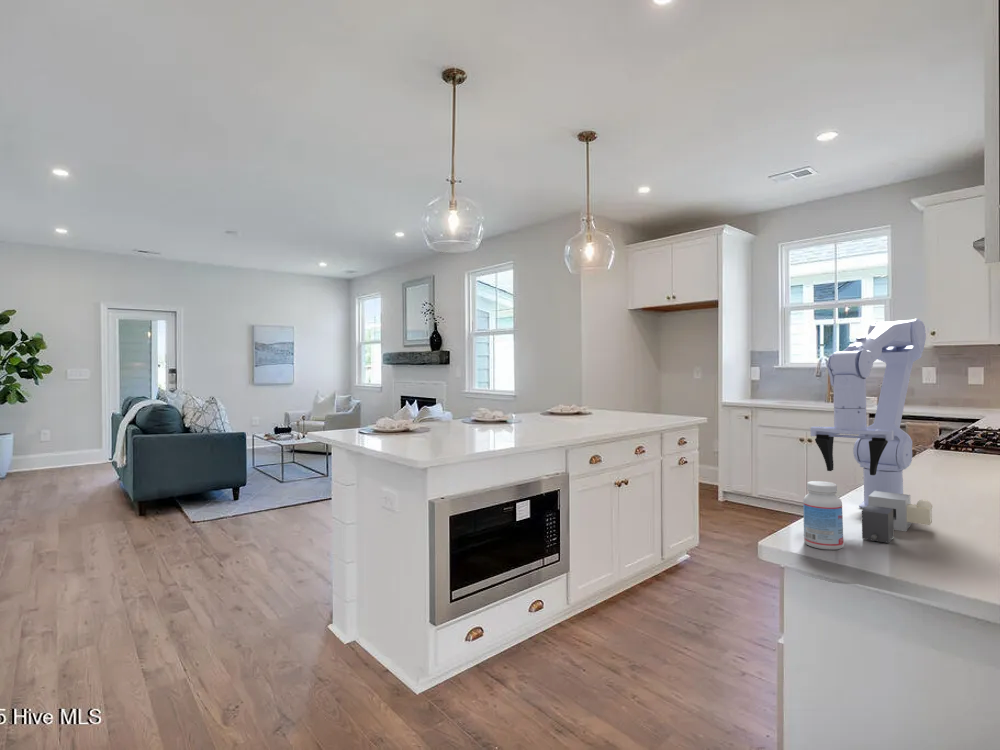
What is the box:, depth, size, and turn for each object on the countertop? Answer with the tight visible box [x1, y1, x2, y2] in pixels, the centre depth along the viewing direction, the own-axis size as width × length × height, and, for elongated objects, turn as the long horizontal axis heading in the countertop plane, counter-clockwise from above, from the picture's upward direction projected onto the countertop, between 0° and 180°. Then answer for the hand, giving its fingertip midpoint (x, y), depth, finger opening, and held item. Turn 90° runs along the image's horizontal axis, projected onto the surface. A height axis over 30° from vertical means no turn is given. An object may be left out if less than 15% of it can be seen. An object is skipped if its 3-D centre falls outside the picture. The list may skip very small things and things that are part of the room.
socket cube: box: [868, 491, 912, 532], centre depth 107 cm, size 6×6×6 cm
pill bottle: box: [802, 480, 844, 551], centre depth 96 cm, size 6×6×11 cm
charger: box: [861, 505, 895, 544], centre depth 99 cm, size 9×4×5 cm, turn 135°
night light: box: [907, 499, 933, 526], centre depth 104 cm, size 3×4×4 cm
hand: (851, 472), depth 112 cm, fingers open, 7 cm apart
